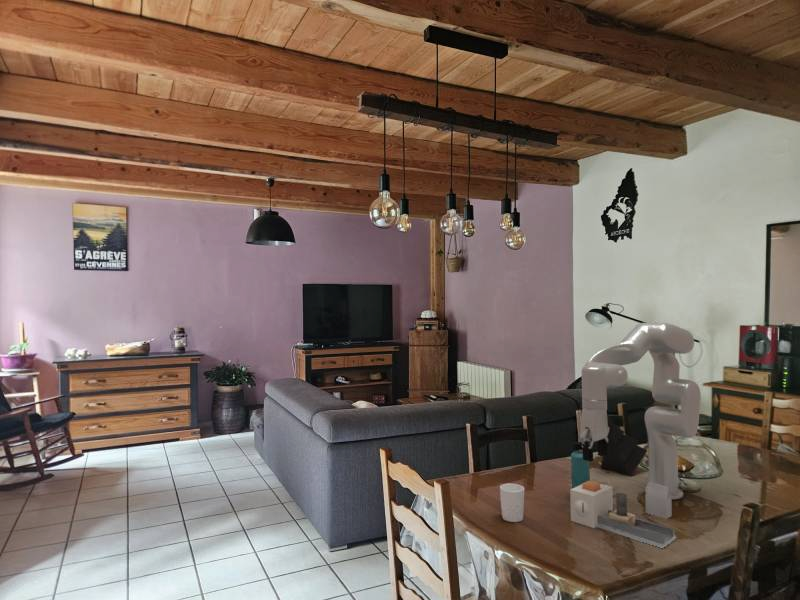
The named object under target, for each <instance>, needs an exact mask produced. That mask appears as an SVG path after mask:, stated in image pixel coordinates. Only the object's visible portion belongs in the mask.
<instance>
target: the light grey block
mask: <svg viewBox="0 0 800 600" xmlns="http://www.w3.org/2000/svg"><path fill="white" fill-rule="evenodd" d="M646 486H647V490H646V492H645V496H644V497H645V500H644V501H645V514H646V513H648V514H647V515H649V514H651V515H650V516H652V515H655V516H654V517H656V516H659V517H662V518H665V519H664V520H666V519H667V518H669V517H671V516H672V517H673V514H672V513H673V510H672V505H673V504H672V503H673V502H672V499H671V495H670V491H669V487H666V486H662V485H658V484H654V483H650V482H649V481H648V482H647V484H646ZM659 517H658V518H659ZM672 517H671V518H672ZM662 518H661V519H662ZM669 519H670V518H669ZM667 520H668V519H667Z"/></svg>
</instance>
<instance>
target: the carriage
mask: <svg viewBox="0 0 800 600" xmlns="http://www.w3.org/2000/svg"><path fill="white" fill-rule="evenodd" d="M627 495H628V494H626V493H622V492H617V493H616V494H615V500H616V501H615V503H616V505H615V508H616V509H613V511H612V512H611V513H609V519H613V520H616V521H619V522H622V523H625V524H629V525H632V526H634V525H635V517H636V515H635V514H633V513H631V512H628V500H627V499H628V497H627Z"/></svg>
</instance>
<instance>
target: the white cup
mask: <svg viewBox="0 0 800 600" xmlns="http://www.w3.org/2000/svg"><path fill="white" fill-rule="evenodd" d="M499 495H500V497H499V498H500V508H501V518H502V519H503V520H504V521H506V522H510V523H517V522H518V523H519V522H522V521H523V520H524V508H525V487H524V486H523V485H520V484H517V483H504V484H501V485H500V486H499Z"/></svg>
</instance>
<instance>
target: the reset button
mask: <svg viewBox="0 0 800 600" xmlns="http://www.w3.org/2000/svg"><path fill="white" fill-rule="evenodd" d="M600 484H601V483H599V482H595V481H591V480H590V481H587V482H585V483H582V489H586V490H589V491H593V492H595V491H598V490H600Z"/></svg>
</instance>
